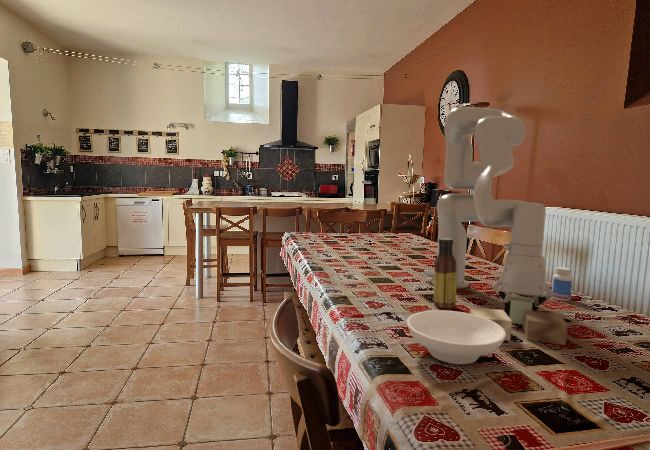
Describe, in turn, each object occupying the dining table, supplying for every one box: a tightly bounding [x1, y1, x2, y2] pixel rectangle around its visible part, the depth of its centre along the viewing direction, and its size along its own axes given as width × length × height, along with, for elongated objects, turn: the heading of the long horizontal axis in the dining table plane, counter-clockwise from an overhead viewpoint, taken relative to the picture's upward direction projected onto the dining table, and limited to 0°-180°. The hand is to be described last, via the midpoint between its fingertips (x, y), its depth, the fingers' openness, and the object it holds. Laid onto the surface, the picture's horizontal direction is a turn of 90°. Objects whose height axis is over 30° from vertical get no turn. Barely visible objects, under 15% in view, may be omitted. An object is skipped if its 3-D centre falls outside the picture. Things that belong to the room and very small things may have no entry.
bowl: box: [406, 309, 506, 365], centre depth 86 cm, size 20×20×7 cm
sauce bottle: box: [433, 238, 457, 310], centre depth 119 cm, size 7×6×20 cm
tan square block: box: [522, 310, 568, 346], centre depth 99 cm, size 8×8×5 cm
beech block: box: [468, 306, 513, 341], centre depth 100 cm, size 8×8×5 cm
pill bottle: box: [551, 266, 573, 302], centre depth 130 cm, size 6×5×10 cm
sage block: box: [509, 294, 533, 325], centre depth 109 cm, size 5×5×6 cm
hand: (519, 317), depth 109 cm, fingers closed on sage block, 5 cm apart
